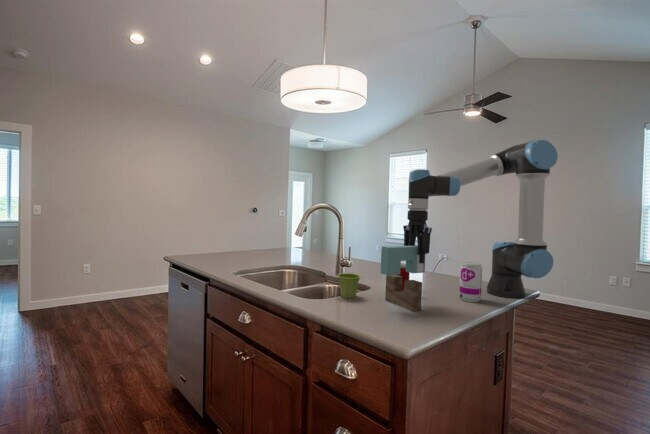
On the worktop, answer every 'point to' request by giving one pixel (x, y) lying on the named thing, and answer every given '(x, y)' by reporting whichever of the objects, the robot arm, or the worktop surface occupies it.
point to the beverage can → (403, 275)
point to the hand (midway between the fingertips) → (415, 270)
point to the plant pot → (348, 284)
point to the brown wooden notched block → (404, 292)
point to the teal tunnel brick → (399, 259)
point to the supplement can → (470, 281)
